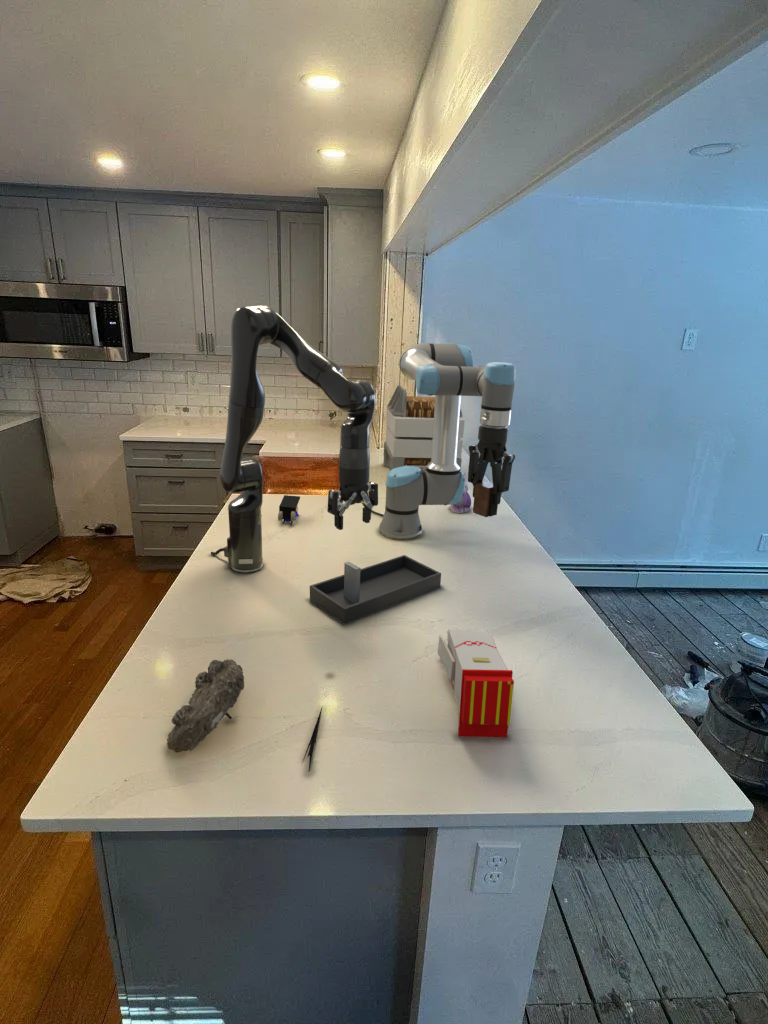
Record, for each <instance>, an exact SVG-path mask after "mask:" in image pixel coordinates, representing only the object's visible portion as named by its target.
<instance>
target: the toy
mask: <svg viewBox="0 0 768 1024" xmlns="http://www.w3.org/2000/svg"><path fill="white" fill-rule="evenodd" d="M446 640H447V643H446V641H445V639H444V636H443V635H442V634H439V637H438V646H437V656H438V657H439V659H440V661H441V663H442V666H443V668H444V670H445V672H446V674H447V677H448V679H449V681H450V684H451V687H452V690H453V693H454V697H455V701H456V705H457V708H458V711H459V714H458V715H459V716H458V730H457V731H458V732H457V737H458V738H508V731H509V726H510V725H511V717H512V707H513V697H514V696H513V695H514V684H515V680H514V679H513V673H514V671H513V670H512V669H508V667H507V665H506V662H505V661H504V659H503V658H502V655H501V653H500V651H499V649H498V647H497V643H496V639H495V637H494V635H493V634H491V632H490V631H489V629H467V628H466V629H465V628H463V629H461V628H460V629H459V628H448V630H447V639H446Z"/></svg>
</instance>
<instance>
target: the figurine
mask: <svg viewBox="0 0 768 1024" xmlns="http://www.w3.org/2000/svg"><path fill="white" fill-rule="evenodd" d="M463 474H464V477H465V480H464V482H465V487H464V492H463V495H462V498H461V500H460V501H459V502H458V503H457V504H452V505H450V507H449V508H450V510H451V511H452V512H453V513H456V514H463V513H468V512H469V511H470V510H471V506H472V498H471V496H470V493H469V492H468V490H469V487H468V484H467V482H466V480H467V472H463Z"/></svg>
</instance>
